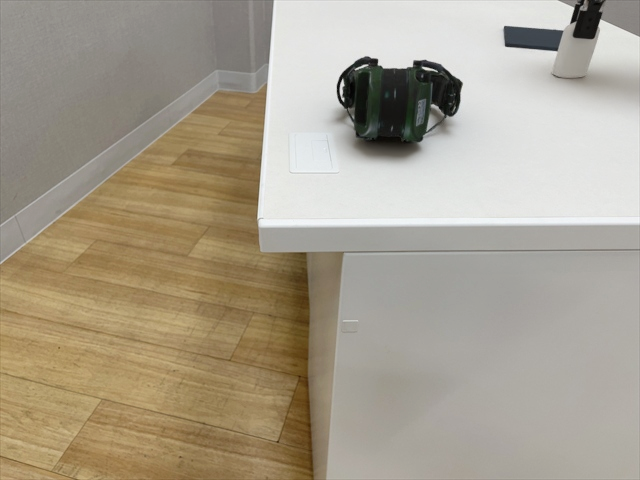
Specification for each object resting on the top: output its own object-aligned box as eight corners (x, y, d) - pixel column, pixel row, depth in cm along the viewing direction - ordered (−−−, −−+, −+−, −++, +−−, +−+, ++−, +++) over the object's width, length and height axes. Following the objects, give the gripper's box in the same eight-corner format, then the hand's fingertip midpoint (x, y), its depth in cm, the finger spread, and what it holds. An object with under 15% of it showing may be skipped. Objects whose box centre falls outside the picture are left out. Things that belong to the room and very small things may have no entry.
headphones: (491, 114, 55) (461, 83, 73) (412, 15, 51) (401, 8, 69) (394, 191, 60) (389, 145, 77) (316, 105, 56) (329, 77, 74)
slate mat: (570, 33, 110) (571, 31, 110) (580, 52, 98) (581, 49, 97) (503, 28, 113) (504, 25, 113) (505, 46, 101) (505, 43, 100)
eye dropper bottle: (550, 69, 88) (571, -6, 81) (584, 73, 87) (609, -4, 80) (551, 77, 85) (574, -2, 78) (588, 80, 84) (613, 1, 77)
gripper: (667, -100, 64) (615, 50, 75) (637, -102, 78) (597, 25, 88) (603, -102, 66) (561, 45, 76) (584, -104, 79) (551, 21, 90)
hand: (581, 33), depth 82 cm, fingers closed on eye dropper bottle, 4 cm apart
